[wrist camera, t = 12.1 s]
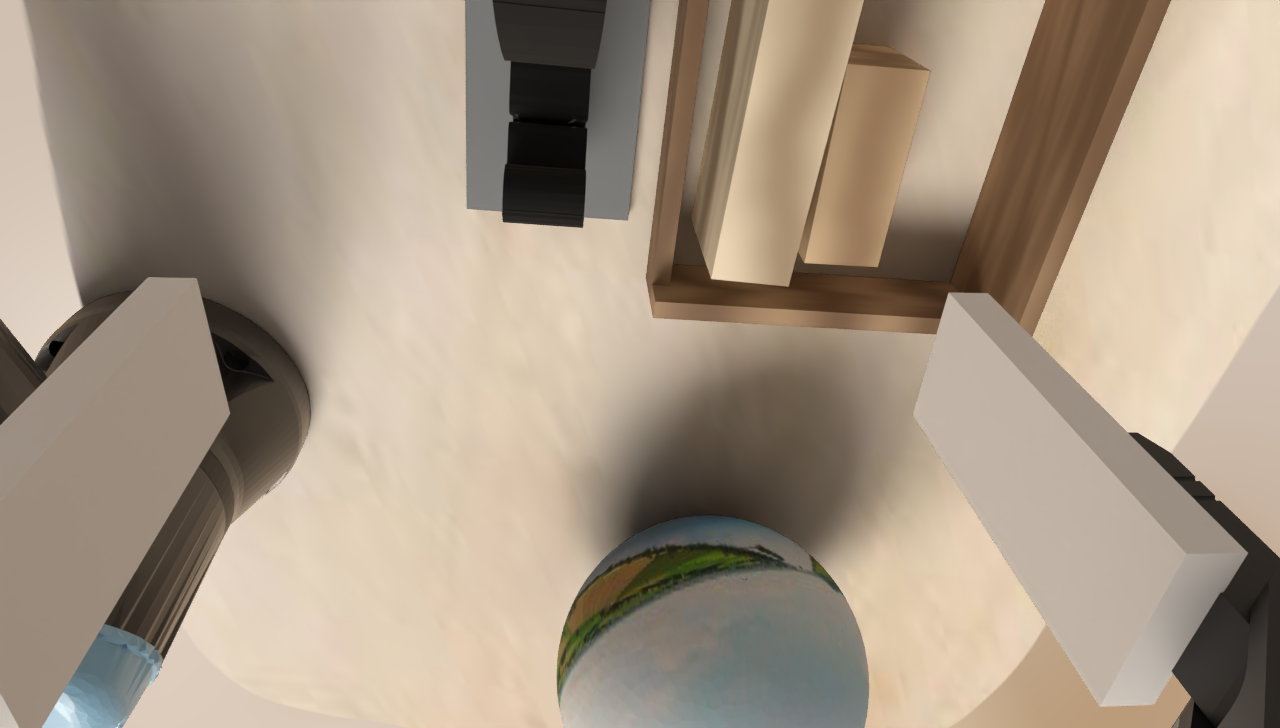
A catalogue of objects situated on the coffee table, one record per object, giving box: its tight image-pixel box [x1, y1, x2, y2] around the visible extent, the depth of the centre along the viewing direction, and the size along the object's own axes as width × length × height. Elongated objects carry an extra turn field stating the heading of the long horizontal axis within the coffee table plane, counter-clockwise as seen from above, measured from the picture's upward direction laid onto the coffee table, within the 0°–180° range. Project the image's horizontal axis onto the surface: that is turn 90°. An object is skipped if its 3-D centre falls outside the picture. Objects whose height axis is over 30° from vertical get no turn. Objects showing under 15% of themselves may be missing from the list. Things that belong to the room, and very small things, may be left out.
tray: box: [646, 0, 1171, 337], centre depth 39 cm, size 20×27×8 cm
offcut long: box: [691, 0, 864, 287], centre depth 40 cm, size 4×16×8 cm, turn 172°
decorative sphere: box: [557, 515, 869, 728], centre depth 53 cm, size 20×20×20 cm
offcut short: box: [798, 43, 931, 267], centre depth 42 cm, size 4×10×6 cm, turn 175°
